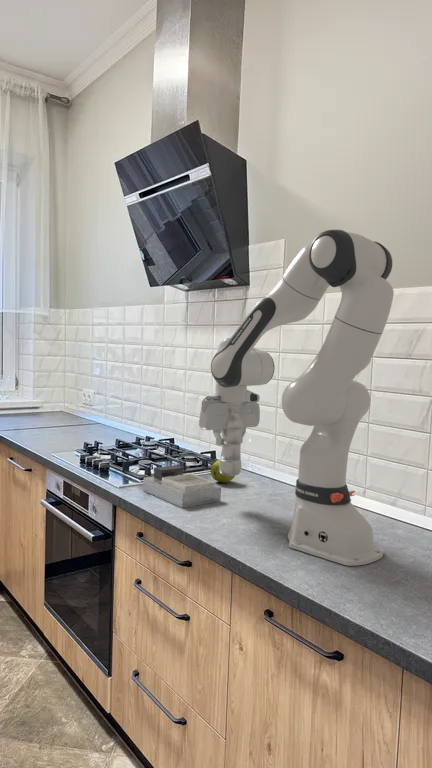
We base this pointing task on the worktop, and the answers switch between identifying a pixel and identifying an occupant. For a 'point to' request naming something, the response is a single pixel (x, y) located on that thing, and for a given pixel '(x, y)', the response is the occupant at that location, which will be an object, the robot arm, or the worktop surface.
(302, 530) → the robot arm
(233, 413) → the plastic bottle
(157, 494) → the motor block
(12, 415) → the worktop surface
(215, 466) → the apple
